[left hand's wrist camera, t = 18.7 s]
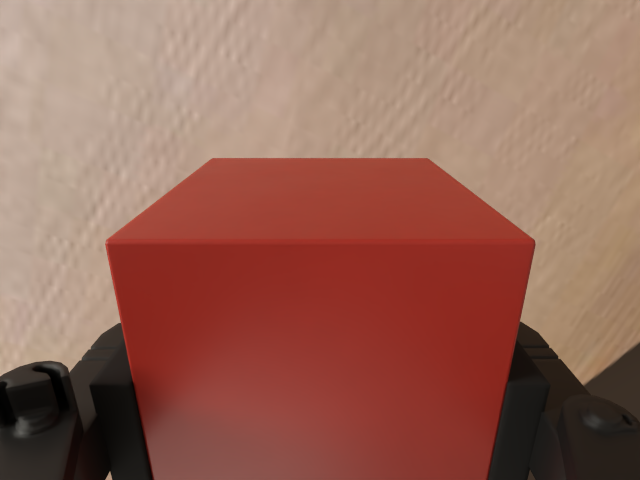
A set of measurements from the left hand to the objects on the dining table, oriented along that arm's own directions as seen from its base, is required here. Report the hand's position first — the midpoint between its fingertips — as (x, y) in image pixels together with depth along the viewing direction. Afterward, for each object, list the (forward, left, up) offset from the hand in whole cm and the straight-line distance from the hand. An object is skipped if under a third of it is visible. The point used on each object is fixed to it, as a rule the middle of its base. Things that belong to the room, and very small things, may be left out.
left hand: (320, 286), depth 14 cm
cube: (0, 0, -1) cm, 1 cm away
